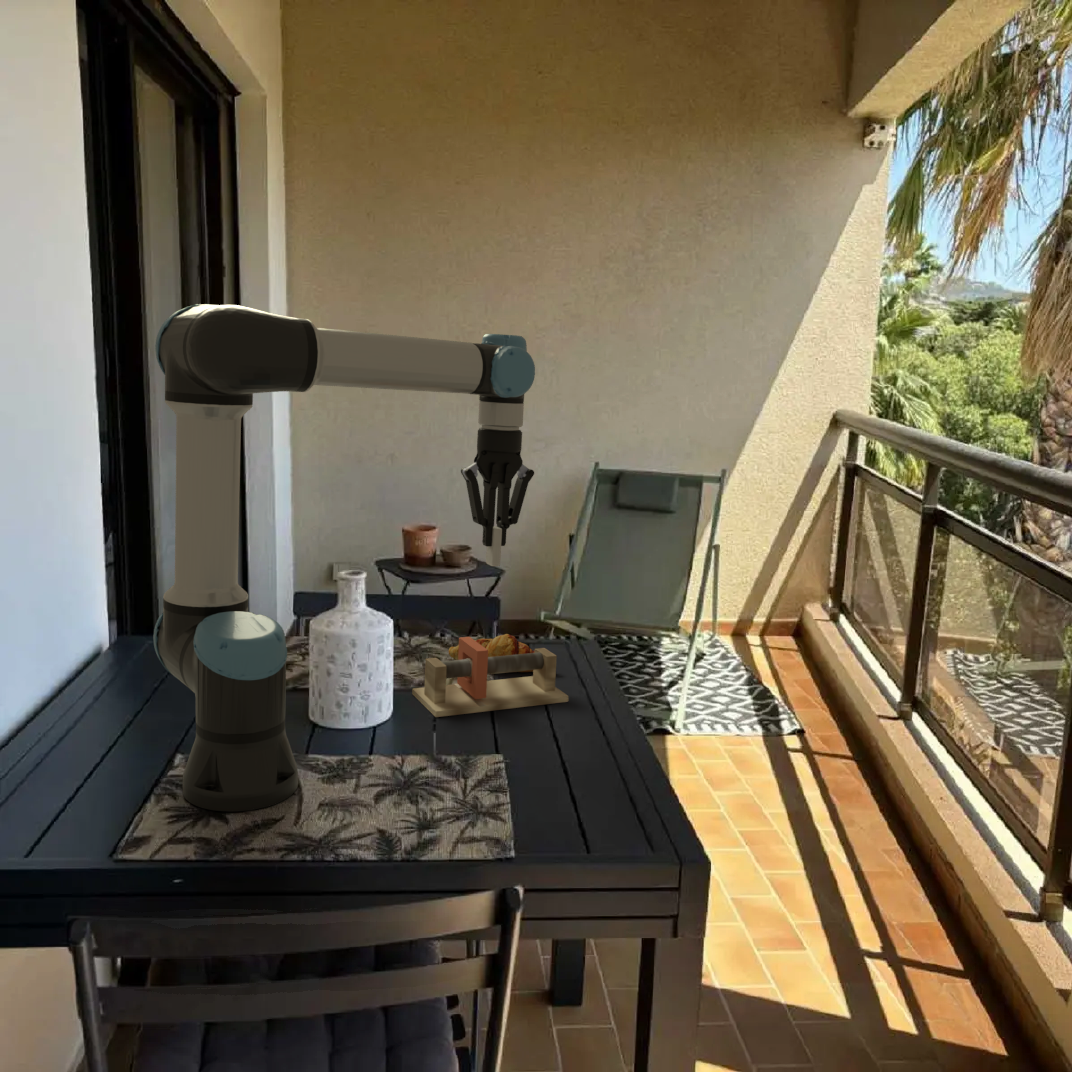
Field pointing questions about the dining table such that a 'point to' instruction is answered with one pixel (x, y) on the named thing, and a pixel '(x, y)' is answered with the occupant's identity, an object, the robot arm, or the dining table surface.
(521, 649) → the croissant
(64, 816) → the dining table surface
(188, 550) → the robot arm
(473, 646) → the ring
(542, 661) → the pipe jig
